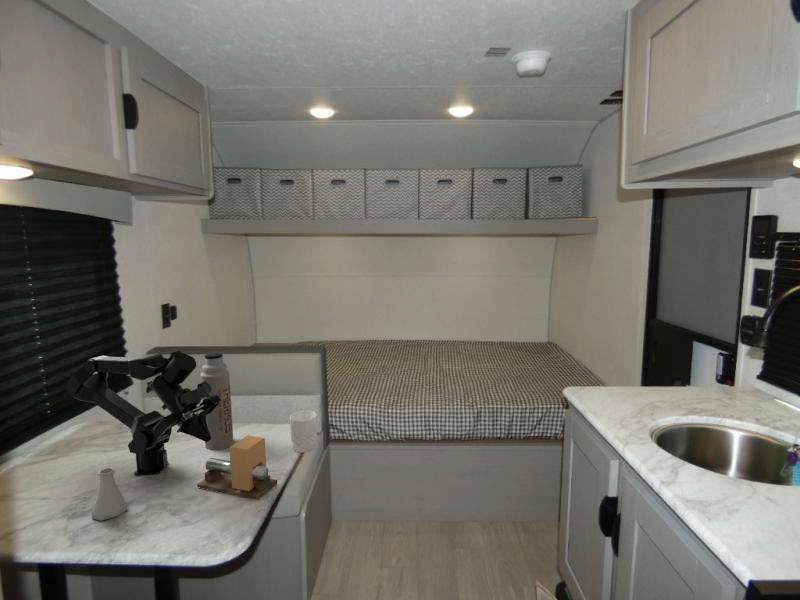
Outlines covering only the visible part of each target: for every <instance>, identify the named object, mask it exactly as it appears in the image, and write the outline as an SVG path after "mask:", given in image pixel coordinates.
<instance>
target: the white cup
mask: <svg viewBox="0 0 800 600" xmlns="http://www.w3.org/2000/svg"><path fill="white" fill-rule="evenodd" d="M317 417H318V414H317V413H316V412H315V411H311V410H300V411H296V412H294V413H291V414H290V415H289V428H290V437H291V438H290V439H291V446H292V451H294V452H296V453H302V454H303V453H309V452H312V451H314V450H315V449H316V446H317V429H318V428H317V421H318V419H317Z"/></svg>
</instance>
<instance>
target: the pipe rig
mask: <svg viewBox="0 0 800 600" xmlns="http://www.w3.org/2000/svg"><path fill="white" fill-rule="evenodd" d="M205 469H206V470H207V471H206V472H204V479H203V480H201V481H200V482H198V483H197V484H196V487H200V488H204V489H203V490H205V489H208V490H207V491H210V490H213V491H212V492H215V491H217V492H216V493H220V492H221V493H220V494H225V493H226V495H230V496H236V497H240V498H245V499H251V500H256V501H259V500H261V498H262V497H264V496H265V495H266V494H267V493H269V492H270V491H271V490H272V489H273V488H274V487H276V485H278V479H275V478H271V475H269V473H270V471H269V468H268V467H267V466H266V467H261V466H255V467H254V468H252V477H253V479H259V480H257V481H256V482H255V487H254V488H253V489H251V490H250V491H245V490H240V489H235V488H232V480H231V463H230V460H226V459H220V458H215V457H209V458H208V459H207V460H206V463H205ZM200 488H199V489H200Z"/></svg>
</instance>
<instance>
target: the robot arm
mask: <svg viewBox="0 0 800 600" xmlns="http://www.w3.org/2000/svg"><path fill="white" fill-rule="evenodd" d="M196 368H197V360H196V359H195V358H194V357H193V356H191V355H190V354H187V353H184V352H182V351H181V350H179V349H177V350H174V351H172V352H171V354H170V355H169V357H166V356H165V357H164V355H163V354H162V353H159V352H158V353H152V354H146V355H142V356H137V357H133V356H132V357H128V356H127V357H126V356H124V357H123V356H108V355H100V356H96V357H92V358H89V359H87V360H86V361H85V363H84V365H82V367H80V368H79V369H78V370H77V371H76V372H74V373H72V376H71V377H70V378H69V380H68V381H67V383H66V386H65V388H66V392H67V394H69V396H70V397H72V398H74V399H77V400H78V401H81V402H88V403H94V404H95V405H96V406H98V407H99V408H101V409H102V410H104V411H105V412H106V413H107V414H109V415H111V416H112V417H113V418H115V419H116V420H118V421H119V422H120V423H121V424H123V425H124V426H126V427H128V428H129V430H130V432H131V437H132V439H131V441H130V442H129V443H128V444H127V448H128V451H129V453H130V454H134V455H135V461H136V464H135V465H136V470H135V471H134V472H133V475H135V476H137V475H138V476H139V475H156V474H155V473H158V474H160V473H161V472H162V471H163V470H164V469H163V468H166V466H167V465H168V464H169V460H168V453H167V449H165V444H167V443H169V442H170V440H171V439H170V437H171V435H172V429H173V427H175V426H177V427H178V429H177V430H176V432H177V433H182V434H185V435H188V436H191V437H194V438H196V439H199V440H201V441H203V442H204V443H205V442H209V441H210V440H211V436H210V433H209V430H208V427H207V423H206V415H208V414H210V413H211V412H212V411H213V410H214V409H215V408H216V407H217V406H218V405H219V404H220V402H221V401H222V400H221V399H220V398H219V397H218V395H212V396H210V395H209V392H211V391H212V389H211V387H210V385H209V384H208V383H207V382H206V381H205V382H202V383H201V382H200V383H198V384H197V385H196V386H197V388H194V389H192V390H191V389H190V388H188V387H186V388H183V386H182V385H181V384H183V383H184V382H185V381H186V380H187V379H188V377H189V376H190V375H191V374H192V373H193V371H194V370H195V369H196ZM109 374H120V375H121V374H123V375H125V374H126V375H129V376H130V378H133V379H136V380H139V381H145V380H148V379H151V378H153V377H154V378H153V380H151V381H147V383H146V388H145V392H146V394H150V393H152V392H153V393H155V394H156V397H158V399H159V400H161V401H160V402H162V403H163V404H162V406H161V408H162V410H163V411H165V410H168V411H169V413H170V414H168V415H165V416H164V415H162V414H161V413H160V412H159V411H157V410H152V411H150V412H148V413H146V412H144V411H142V410H140V409H139V408H138V407H136V406H135V405H134V404H132V403H131V402H129V401H128V400H126V399H125V398H123V397H122V396H120V395H119V394H117V393H116V392H115V391H114V390H112V389H110V388H109V387H108V386H109V384H108V380H107V379H108V377H109ZM209 396H210V397H209ZM205 397H208V398H205ZM203 398H205V399H204V400H203V401H202V399H203ZM167 463H168V464H167Z"/></svg>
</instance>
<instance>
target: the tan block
mask: <svg viewBox="0 0 800 600" xmlns="http://www.w3.org/2000/svg"><path fill="white" fill-rule="evenodd" d="M265 440H266V438H265V437H263V436H262V437H261V436H257V435H256V436H255V435H246V436H245V437H243V438H242V439H240V440H238V441H236V442H235V443H233V444H232V445H230V446H229V458H230V460H229V461H230V463H231V480H232V488H235V489H240V490H245V491H250V490H251V489H253V488H254V487H255V482H256V481H257V480H259V479H253V477H252V468H254V467H255V466H261V467H267V460H266V458H267V457H266V441H265Z"/></svg>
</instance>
